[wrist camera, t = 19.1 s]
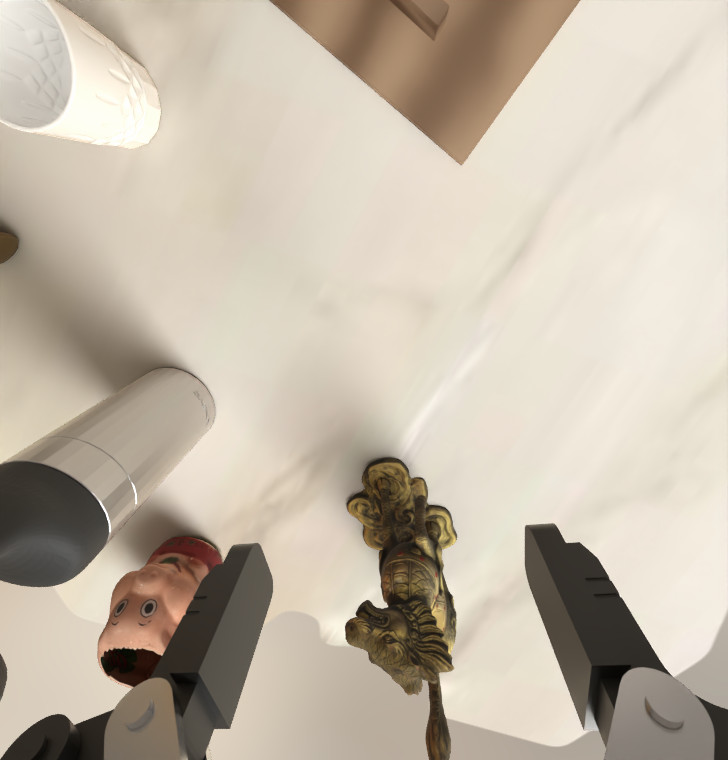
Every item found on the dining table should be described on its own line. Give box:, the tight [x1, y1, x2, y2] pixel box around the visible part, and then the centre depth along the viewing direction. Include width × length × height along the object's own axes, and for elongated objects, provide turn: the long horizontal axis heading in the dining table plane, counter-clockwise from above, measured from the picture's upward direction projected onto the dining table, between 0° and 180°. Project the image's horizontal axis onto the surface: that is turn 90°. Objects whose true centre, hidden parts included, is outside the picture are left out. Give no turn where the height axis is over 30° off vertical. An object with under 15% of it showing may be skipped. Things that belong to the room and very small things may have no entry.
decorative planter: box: [98, 537, 223, 688], centre depth 47 cm, size 20×12×14 cm, turn 3°
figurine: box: [345, 458, 457, 760], centre depth 39 cm, size 13×25×20 cm, turn 14°
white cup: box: [0, 0, 161, 149], centre depth 26 cm, size 8×8×10 cm
